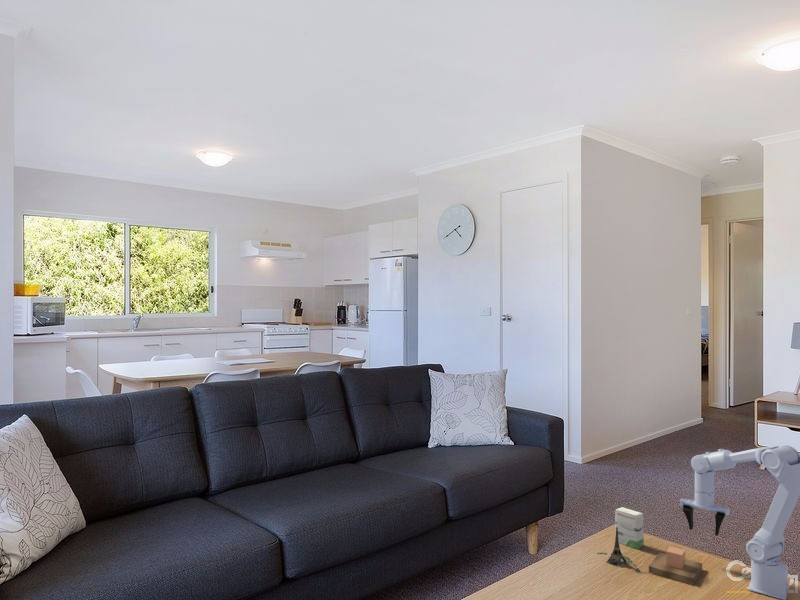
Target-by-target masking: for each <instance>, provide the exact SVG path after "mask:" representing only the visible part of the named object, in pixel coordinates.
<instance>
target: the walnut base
mask: <svg viewBox="0 0 800 600" xmlns="http://www.w3.org/2000/svg"><path fill="white" fill-rule="evenodd" d="M702 571H703V563H702V562H699V561H695V560H691V559H687V558H685V565H684V567H683V569H679V568H675V567H671V566H667V565H666V553H663V552H660V551H659V552H658V553H657V555H656V556H655V557H654V558H653V560H652V561H651V563H650V564H649V566H648V573H650V574H652V573H653V574H652V575H657V576H660V577H663V576H664V577H663V578H667V579H671V580H674V581H678V582H681V583H684V584H689V585H692V586H694V585H695V583H696V581H697V579H698V578H699V576H700V574H701V572H702Z"/></svg>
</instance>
